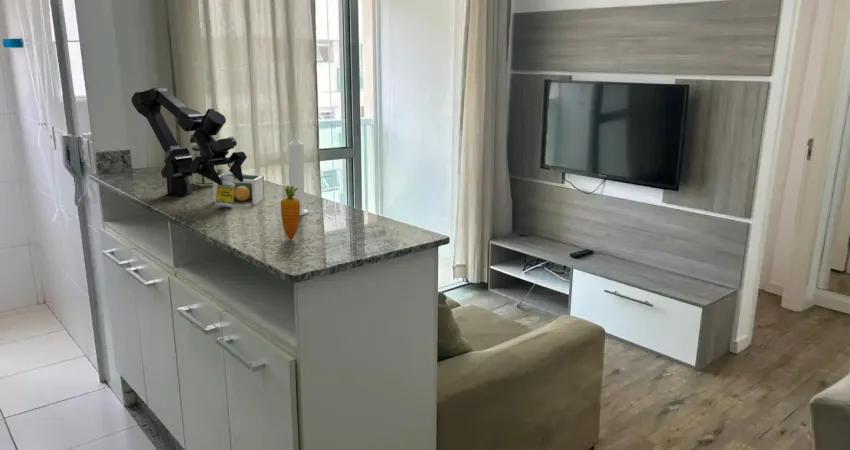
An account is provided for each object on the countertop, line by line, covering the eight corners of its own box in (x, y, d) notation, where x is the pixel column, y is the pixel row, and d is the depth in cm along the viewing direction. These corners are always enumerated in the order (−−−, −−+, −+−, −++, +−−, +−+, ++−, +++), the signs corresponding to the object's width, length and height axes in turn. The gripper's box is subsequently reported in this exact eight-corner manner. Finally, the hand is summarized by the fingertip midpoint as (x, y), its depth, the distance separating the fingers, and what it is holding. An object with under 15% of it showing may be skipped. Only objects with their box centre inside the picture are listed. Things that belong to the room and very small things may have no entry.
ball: (239, 182, 211) (239, 196, 213) (231, 187, 206) (232, 201, 208) (252, 185, 210) (253, 198, 212) (244, 190, 205) (245, 204, 207)
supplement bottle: (230, 207, 201) (233, 177, 202) (235, 206, 197) (238, 176, 197) (213, 205, 198) (216, 175, 199) (217, 204, 194) (220, 174, 195)
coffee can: (210, 180, 242) (208, 143, 239) (228, 183, 237) (226, 146, 233) (187, 183, 234) (185, 146, 230) (205, 187, 228) (203, 149, 225)
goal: (213, 202, 205) (212, 178, 203) (224, 196, 214) (223, 173, 212) (255, 204, 205) (254, 180, 203) (264, 198, 214) (263, 175, 212)
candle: (312, 211, 198) (312, 132, 192) (301, 216, 191) (300, 134, 185) (293, 209, 200) (291, 131, 194) (281, 214, 193) (279, 133, 187)
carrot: (282, 237, 169) (281, 182, 165) (301, 237, 169) (300, 183, 165) (280, 242, 164) (278, 186, 160) (299, 242, 164) (298, 186, 160)
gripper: (193, 130, 190) (218, 170, 186) (242, 127, 205) (266, 164, 202) (178, 153, 196) (203, 192, 193) (227, 148, 211) (250, 184, 208)
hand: (232, 182), depth 198 cm, fingers open, 8 cm apart
